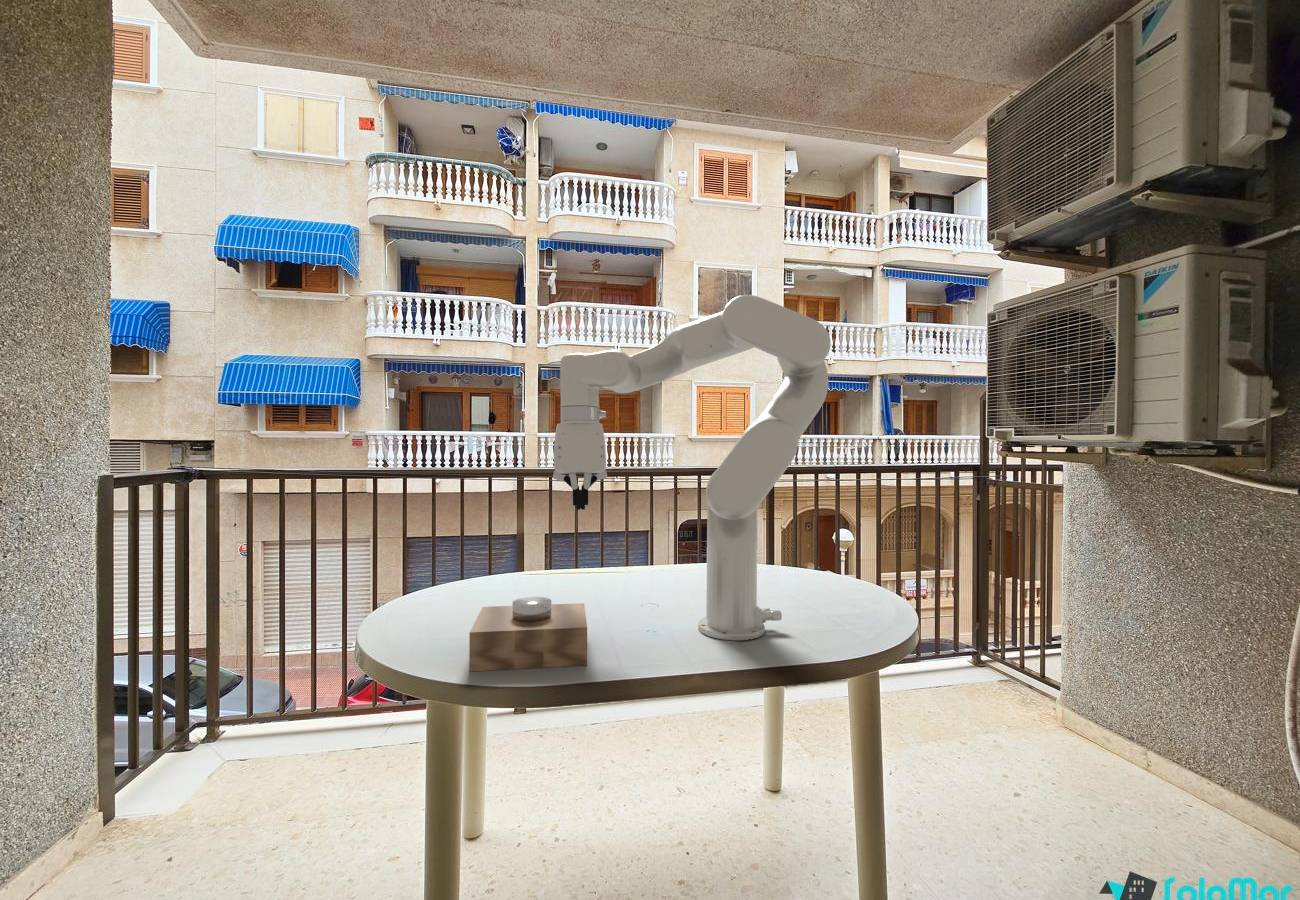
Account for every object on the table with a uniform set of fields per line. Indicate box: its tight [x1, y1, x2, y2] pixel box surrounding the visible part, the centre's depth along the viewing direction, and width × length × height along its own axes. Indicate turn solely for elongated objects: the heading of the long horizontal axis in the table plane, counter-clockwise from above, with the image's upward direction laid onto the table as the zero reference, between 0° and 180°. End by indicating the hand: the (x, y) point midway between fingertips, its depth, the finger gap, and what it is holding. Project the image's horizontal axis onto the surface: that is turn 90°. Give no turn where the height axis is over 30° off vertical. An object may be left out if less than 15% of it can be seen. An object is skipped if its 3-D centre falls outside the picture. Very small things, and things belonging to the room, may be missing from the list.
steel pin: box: [512, 596, 552, 622], centre depth 93 cm, size 6×6×8 cm
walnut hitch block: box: [468, 602, 588, 672], centre depth 93 cm, size 18×14×6 cm
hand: (580, 508), depth 110 cm, fingers closed
